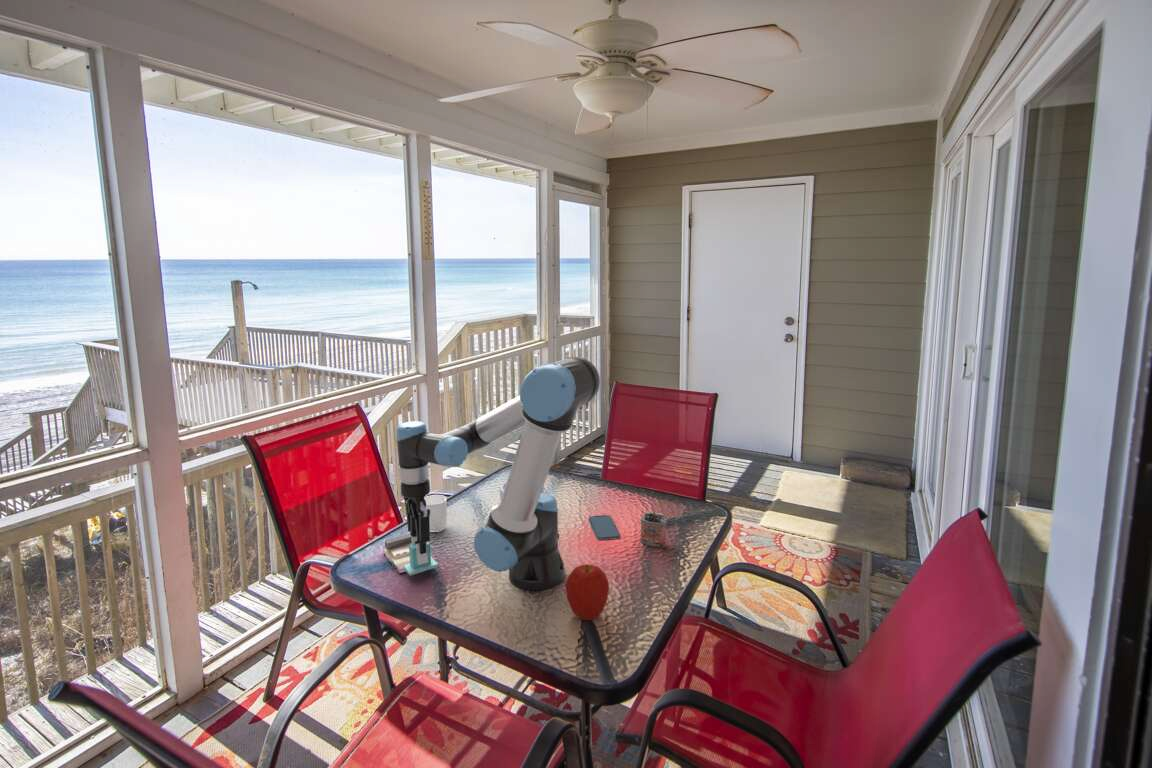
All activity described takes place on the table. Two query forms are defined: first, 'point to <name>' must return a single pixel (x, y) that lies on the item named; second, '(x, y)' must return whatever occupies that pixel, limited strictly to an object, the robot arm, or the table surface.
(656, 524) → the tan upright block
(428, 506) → the white cup
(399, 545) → the ticket holder
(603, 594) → the apple
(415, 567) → the teal upright sign stand
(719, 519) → the table surface
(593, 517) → the smartphone
